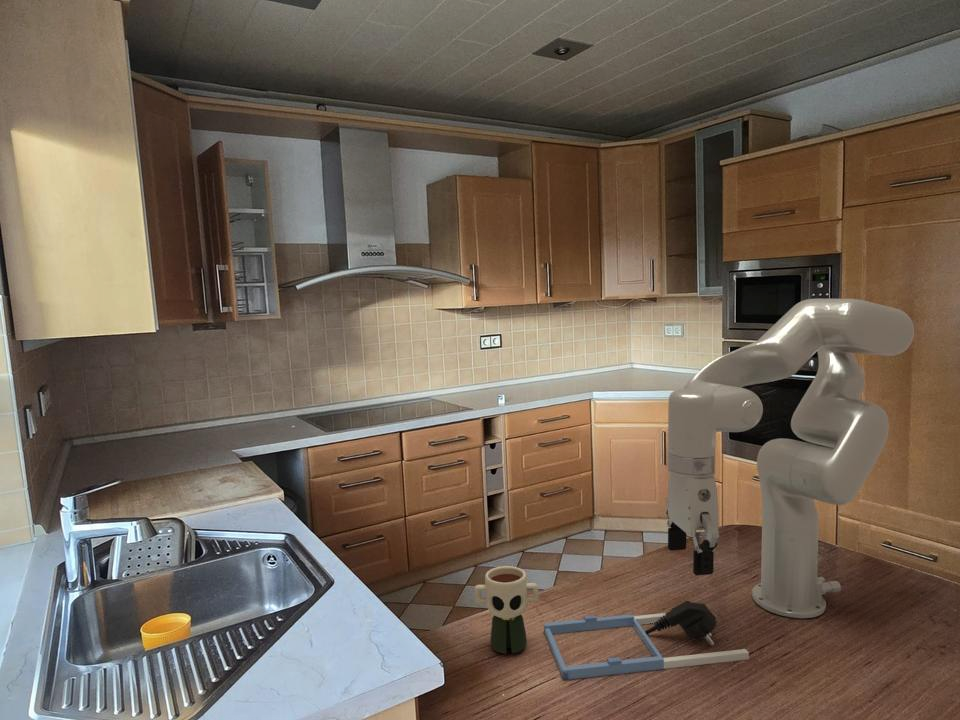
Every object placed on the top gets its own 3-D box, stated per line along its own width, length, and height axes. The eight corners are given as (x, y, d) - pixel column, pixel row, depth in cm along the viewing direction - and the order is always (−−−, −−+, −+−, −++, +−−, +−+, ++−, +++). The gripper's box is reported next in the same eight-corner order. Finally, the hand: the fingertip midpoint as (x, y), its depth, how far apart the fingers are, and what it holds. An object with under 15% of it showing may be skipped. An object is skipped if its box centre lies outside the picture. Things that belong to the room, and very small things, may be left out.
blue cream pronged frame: (707, 614, 114) (707, 603, 114) (748, 659, 101) (748, 646, 100) (544, 631, 111) (543, 620, 111) (563, 680, 97) (563, 667, 97)
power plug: (640, 622, 111) (697, 589, 108) (665, 656, 111) (723, 624, 108) (641, 639, 106) (701, 605, 103) (668, 675, 106) (729, 642, 103)
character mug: (476, 659, 103) (473, 584, 102) (478, 636, 110) (474, 566, 109) (541, 657, 103) (538, 582, 102) (539, 634, 110) (536, 564, 109)
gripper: (739, 477, 95) (737, 583, 97) (689, 449, 112) (687, 539, 114) (693, 480, 94) (691, 586, 96) (649, 451, 111) (648, 542, 113)
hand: (689, 561), depth 105 cm, fingers open, 9 cm apart
